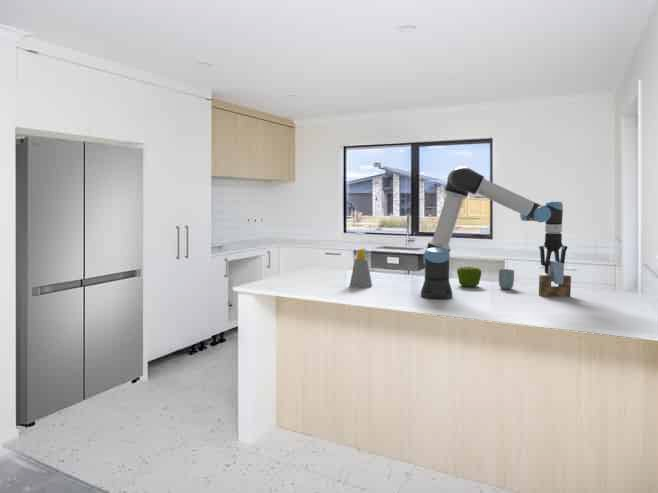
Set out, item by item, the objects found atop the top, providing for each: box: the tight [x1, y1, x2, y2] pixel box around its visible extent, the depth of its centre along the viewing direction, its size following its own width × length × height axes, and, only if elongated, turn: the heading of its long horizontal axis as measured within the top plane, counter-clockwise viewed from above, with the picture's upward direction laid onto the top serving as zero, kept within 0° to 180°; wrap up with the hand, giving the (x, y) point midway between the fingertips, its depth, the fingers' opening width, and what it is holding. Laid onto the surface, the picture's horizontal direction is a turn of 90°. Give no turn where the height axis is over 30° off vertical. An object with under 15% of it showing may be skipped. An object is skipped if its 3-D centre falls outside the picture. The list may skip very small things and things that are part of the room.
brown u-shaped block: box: [538, 274, 572, 298], centre depth 245 cm, size 14×3×10 cm, turn 86°
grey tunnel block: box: [549, 260, 565, 285], centre depth 245 cm, size 12×3×10 cm, turn 176°
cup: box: [498, 268, 515, 290], centre depth 265 cm, size 8×8×10 cm
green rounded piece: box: [456, 266, 482, 288], centre depth 274 cm, size 12×12×11 cm
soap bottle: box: [349, 248, 373, 289], centre depth 274 cm, size 12×12×20 cm
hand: (551, 279), depth 249 cm, fingers closed on grey tunnel block, 3 cm apart
